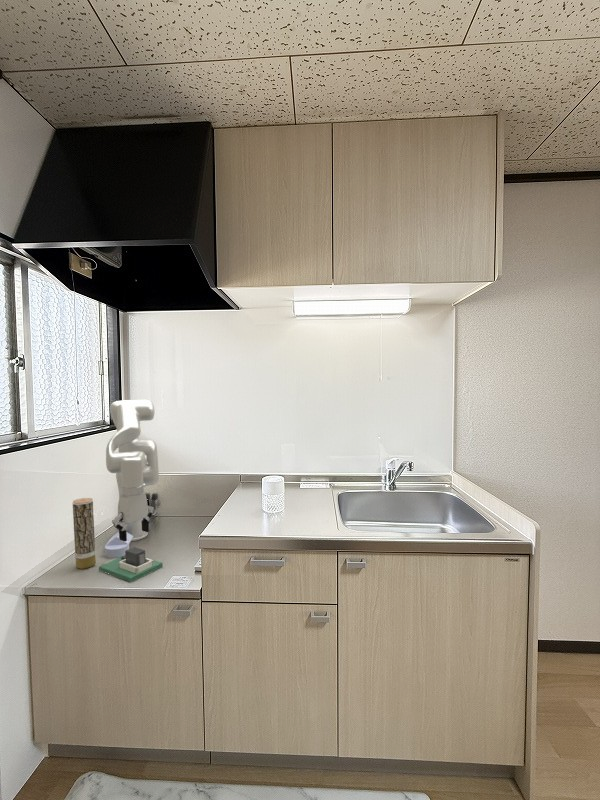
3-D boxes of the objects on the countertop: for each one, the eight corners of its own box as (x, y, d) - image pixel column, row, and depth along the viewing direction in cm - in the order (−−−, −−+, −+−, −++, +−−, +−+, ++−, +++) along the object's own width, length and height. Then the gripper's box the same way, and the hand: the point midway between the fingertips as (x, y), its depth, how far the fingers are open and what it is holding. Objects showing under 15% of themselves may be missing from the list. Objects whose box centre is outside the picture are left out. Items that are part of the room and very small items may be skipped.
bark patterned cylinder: (85, 570, 167) (82, 504, 165) (71, 567, 169) (68, 502, 167) (99, 563, 173) (96, 498, 171) (86, 560, 176) (82, 497, 174)
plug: (126, 566, 166) (125, 550, 166) (135, 562, 170) (134, 546, 169) (138, 570, 163) (137, 554, 162) (147, 566, 166) (146, 550, 166)
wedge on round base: (111, 545, 190) (102, 558, 177) (110, 529, 190) (101, 541, 177) (133, 544, 191) (126, 556, 179) (133, 528, 191) (125, 540, 178)
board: (99, 570, 167) (98, 561, 167) (131, 556, 179) (130, 547, 179) (131, 582, 157) (130, 572, 157) (162, 566, 169) (162, 557, 169)
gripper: (145, 482, 174) (146, 526, 175) (105, 494, 159) (107, 541, 161) (158, 485, 170) (160, 530, 172) (118, 498, 155) (120, 546, 157)
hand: (134, 535), depth 166 cm, fingers open, 9 cm apart
